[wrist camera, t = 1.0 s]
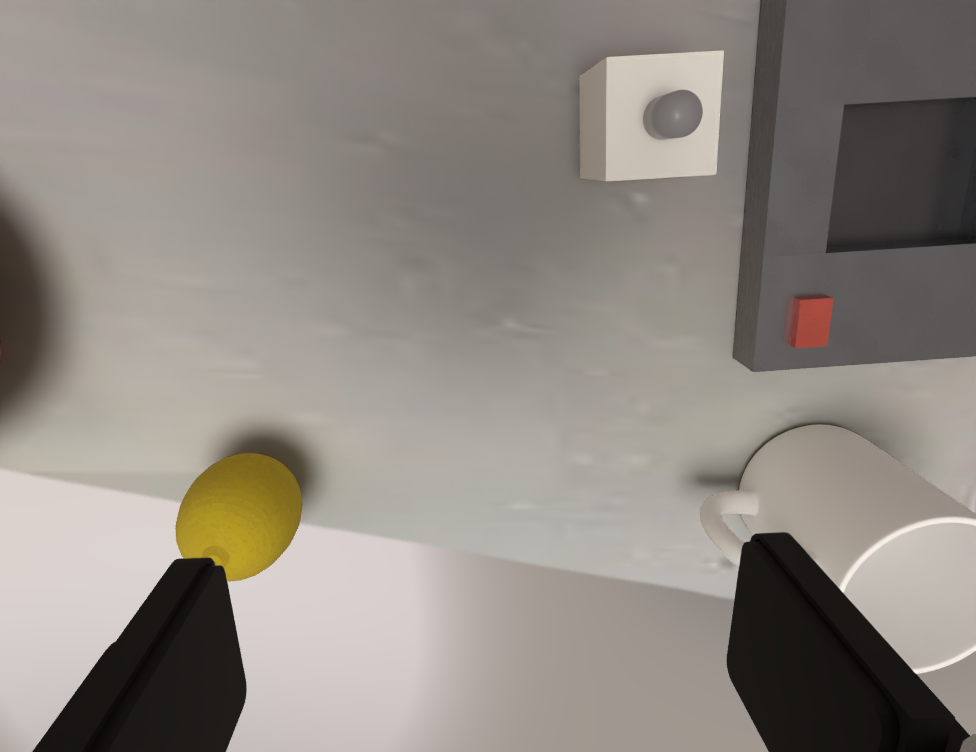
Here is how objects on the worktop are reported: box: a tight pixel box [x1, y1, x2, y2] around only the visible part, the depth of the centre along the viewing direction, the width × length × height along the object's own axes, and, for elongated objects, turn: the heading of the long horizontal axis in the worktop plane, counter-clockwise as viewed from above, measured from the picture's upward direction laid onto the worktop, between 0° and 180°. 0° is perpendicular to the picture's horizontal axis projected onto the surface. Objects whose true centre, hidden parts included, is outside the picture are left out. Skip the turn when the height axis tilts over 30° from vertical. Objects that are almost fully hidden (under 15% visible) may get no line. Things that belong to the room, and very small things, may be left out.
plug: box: [580, 50, 724, 181], centre depth 26 cm, size 4×4×8 cm
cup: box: [700, 425, 976, 674], centre depth 31 cm, size 8×12×10 cm
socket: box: [733, 0, 976, 372], centre depth 29 cm, size 18×14×3 cm
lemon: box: [176, 453, 302, 581], centre depth 31 cm, size 6×6×8 cm
